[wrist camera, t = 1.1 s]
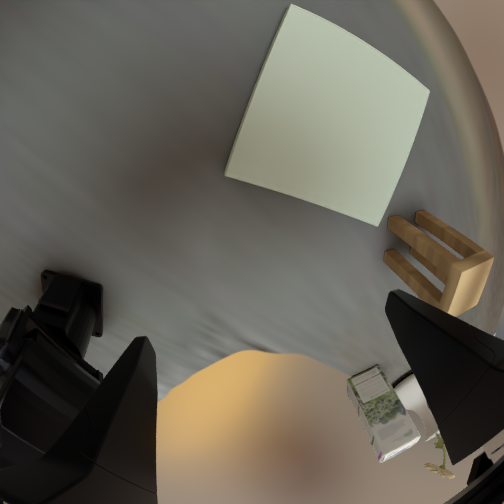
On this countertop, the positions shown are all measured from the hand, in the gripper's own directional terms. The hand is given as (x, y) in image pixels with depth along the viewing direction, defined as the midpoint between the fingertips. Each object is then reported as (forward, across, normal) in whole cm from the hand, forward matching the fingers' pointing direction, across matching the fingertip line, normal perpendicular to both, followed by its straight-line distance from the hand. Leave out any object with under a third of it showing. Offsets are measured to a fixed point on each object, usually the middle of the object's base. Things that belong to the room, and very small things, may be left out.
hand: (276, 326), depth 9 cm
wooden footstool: (+13, -17, +6) cm, 22 cm away
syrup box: (+13, -16, +31) cm, 37 cm away
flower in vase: (+14, -29, +41) cm, 52 cm away
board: (+13, -9, -6) cm, 17 cm away
